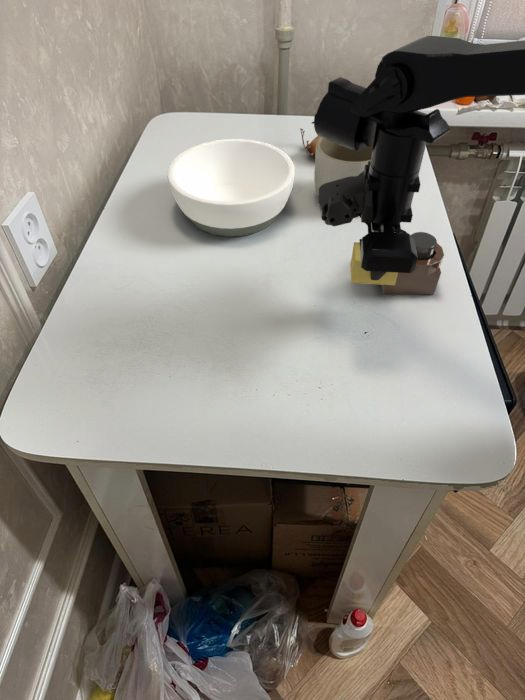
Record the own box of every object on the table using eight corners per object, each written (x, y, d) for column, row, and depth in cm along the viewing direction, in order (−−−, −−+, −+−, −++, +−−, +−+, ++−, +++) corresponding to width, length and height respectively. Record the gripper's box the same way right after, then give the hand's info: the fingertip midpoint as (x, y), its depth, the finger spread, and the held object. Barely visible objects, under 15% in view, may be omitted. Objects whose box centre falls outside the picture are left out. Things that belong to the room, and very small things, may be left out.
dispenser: (436, 298, 78) (447, 265, 73) (383, 296, 78) (391, 264, 74) (426, 262, 84) (436, 229, 79) (377, 261, 84) (384, 228, 79)
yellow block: (392, 266, 72) (398, 244, 69) (394, 285, 69) (400, 262, 66) (350, 264, 72) (353, 241, 69) (351, 283, 69) (354, 260, 66)
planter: (356, 176, 102) (363, 123, 93) (389, 208, 94) (401, 153, 86) (301, 190, 98) (304, 136, 90) (331, 224, 91) (337, 169, 83)
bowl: (220, 167, 105) (216, 127, 98) (314, 198, 97) (317, 157, 90) (148, 221, 92) (140, 179, 86) (250, 262, 84) (249, 219, 78)
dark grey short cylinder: (435, 261, 75) (439, 248, 73) (408, 260, 75) (411, 248, 73) (430, 244, 77) (434, 232, 75) (404, 244, 77) (407, 231, 76)
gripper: (326, 125, 65) (317, 226, 76) (324, 207, 52) (314, 313, 64) (413, 128, 64) (391, 230, 76) (432, 211, 52) (402, 318, 63)
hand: (373, 269), depth 70 cm, fingers closed on yellow block, 4 cm apart
